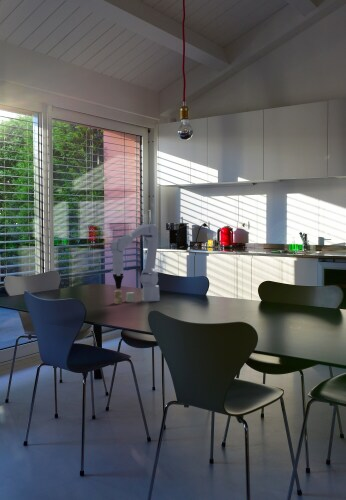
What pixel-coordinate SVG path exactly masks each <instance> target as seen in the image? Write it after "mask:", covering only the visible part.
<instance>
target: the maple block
mask: <svg viewBox="0 0 346 500" xmlns="http://www.w3.org/2000/svg"><path fill="white" fill-rule="evenodd" d="M114 304H115V305H122V304H123V291H122V290H121V289H120V290H119V289H116V290H114Z"/></svg>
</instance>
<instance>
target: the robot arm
mask: <svg viewBox="0 0 346 500" xmlns="http://www.w3.org/2000/svg"><path fill="white" fill-rule="evenodd" d="M158 235H159V228H158V226H157V225H156V224H155V223H153V224H151V223H150V224H144V223H143V224H142V223H141V225H138V227H137V228H136V229H134V230H133V231H132V232H131V233H124V234H123V235H122V236H121V237H119V238H118V239H117V240H113V241H112V242H111V243H110V246H109V248H110V250H111V254H112V270H110V273H113V274H112V277H113V279H114V283H115V288H116V290H119V289H120V290H121V288H122V282H123V278H124V272H125V271H124V251H125V250H126V247H128V246H129V245H130V244H132V243H133V242H134V240H135V239H137V238H138V237H140V236H142V237H144V238H145V239H146V240H147V250H146V251H147V252H146V258H145V267H144V268H143V270H142V271H141V274H140V277H139V282H140V283H141V285H142V299H141V301H142V302H159V301H161V300H160V286H159V285H158V282H159V277H158V275H159V273H158V271H157V270H156V269H155V268H156V262H157V261H156V259H157V252H158V250H157V249H158V244H159V243H158V241H159V238H158V237H159V236H158Z"/></svg>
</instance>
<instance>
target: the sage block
mask: <svg viewBox="0 0 346 500" xmlns="http://www.w3.org/2000/svg"><path fill="white" fill-rule="evenodd" d="M135 296H136V292H133V291H130V292H126V293H125V301H126V302H127V303H133V302H134V303H135V302H136V297H135Z"/></svg>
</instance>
